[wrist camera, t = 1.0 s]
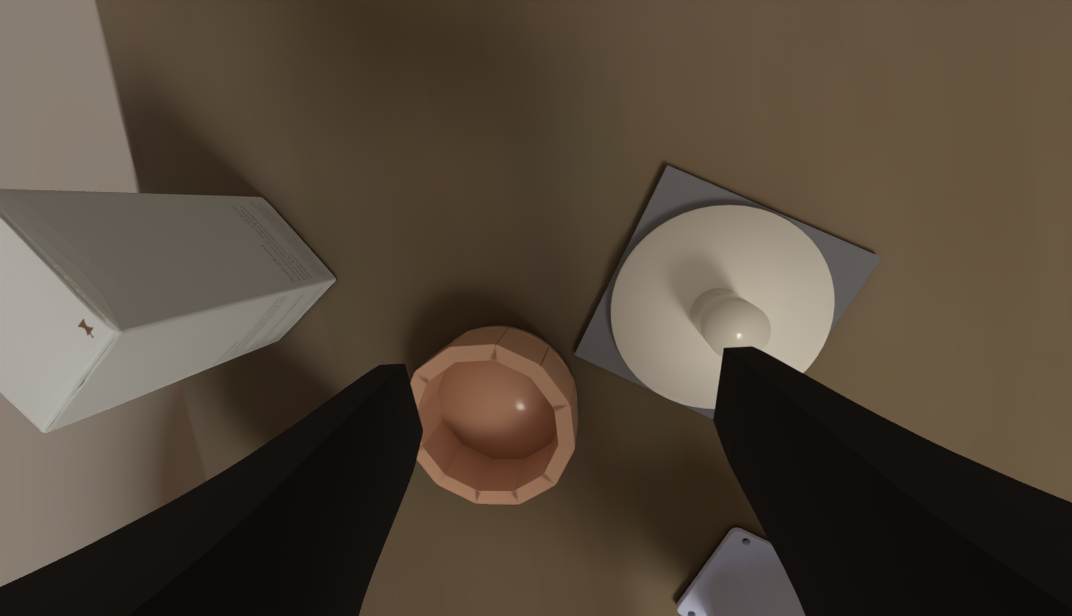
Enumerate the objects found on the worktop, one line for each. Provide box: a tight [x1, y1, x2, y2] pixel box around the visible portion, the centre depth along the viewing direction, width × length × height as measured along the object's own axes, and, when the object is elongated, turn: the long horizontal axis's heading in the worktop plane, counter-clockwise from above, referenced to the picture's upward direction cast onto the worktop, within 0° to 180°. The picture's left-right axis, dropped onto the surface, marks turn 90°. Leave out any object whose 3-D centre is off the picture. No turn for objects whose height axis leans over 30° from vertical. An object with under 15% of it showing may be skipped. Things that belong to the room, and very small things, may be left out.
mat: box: [574, 165, 882, 419], centre depth 23 cm, size 12×12×1 cm
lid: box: [611, 205, 835, 409], centre depth 21 cm, size 12×12×4 cm
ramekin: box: [410, 325, 579, 505], centre depth 25 cm, size 10×10×4 cm
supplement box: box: [0, 189, 336, 433], centre depth 21 cm, size 7×7×13 cm
